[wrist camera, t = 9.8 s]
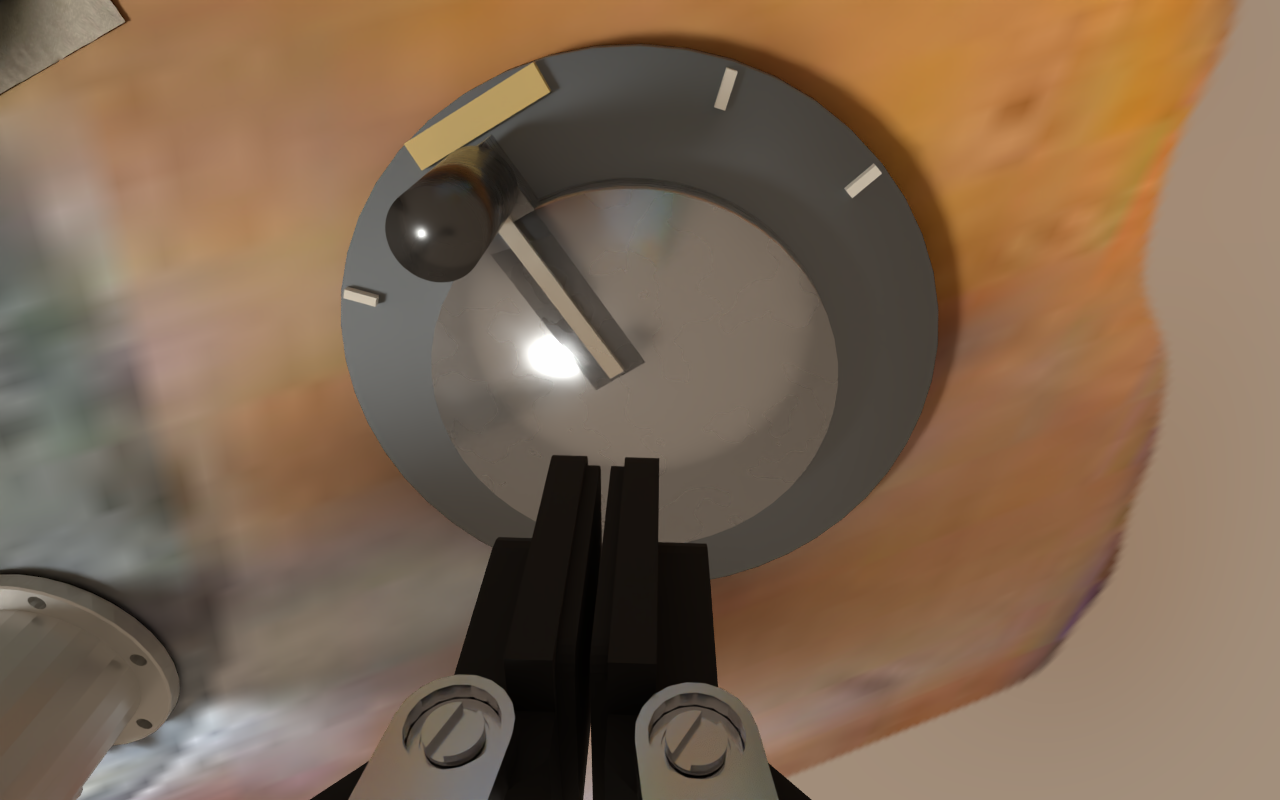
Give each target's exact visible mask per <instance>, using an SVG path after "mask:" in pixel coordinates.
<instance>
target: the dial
mask: <svg viewBox="0 0 1280 800" xmlns="http://www.w3.org/2000/svg"><path fill="white" fill-rule="evenodd" d="M385 233H386V239H387V242H388V245H389V247H390V250H391V252H392V253H393V255H394V257H395V258H396V259H397V261H398V262H399V263H400V264H401V265H402V266H403V267H404V268H405V269H406V270H408V271H409V272H410V273H412V274H413V275H415V276H417V277H419V278H422V279H424V280H428V281H431V282H443V283H444V282H451V281H454V282H453V284H452V286H451V288H450V290H449V292H448V294H447V296H446V298H445V300H444V302H443V304H442V307H441V310H440V313H439V317H438V320H437V323H436V326H435V331H434V337H433V344H432V351H431V372H432V382H433V388H434V395H435V400H436V403H437V406H438V410H439V413H440V416H441V420H442V422H443V424H444V426H445V428H446V431H447V433H448V435H449V437H450V439H451V441H452V443H453V445H454V446H455V448H456V449H457V451H458V453H459V454H460V456H461V457H462V459H463V460H464V462H465V463H466V464H467V465H468V467H469V468H470V469H471V470H472V471H473V473H474V474H475V475H476V476H477V478H478V479H479V480H480V481H481V482H482V483H484V484H485V485H486V486H487V487H488V488H489V489H490V490H491V491H492V492H493V493H494V494H495V495H496V496H498V497H499V498H500V499H502V500H503V501H504V502H506V503H507V504H508V505H509V506H511V507H512V508H514V509H515V510H517V511H518V512H520V513H522V514H523V515H525V516H527V517H528V518H530V519H532V520H534V521H536V519H537V515H538V511H539V507H540V503H541V498H542V494H543V490H544V486H545V481H546V477H547V473H548V469H549V465H550V460H551V457H552V455H570V456H587V457H588V465H597V466H600V467H601V513H602V542H603V533H604V524H605V515H606V506H607V497H608V488H609V479H610V470H611V466H624V462H625V457H638V458H659V523H658V542H673V543H684V542H690V541H694V540H697V539H701V538H704V537H708V536H712V535H714V534H717V533H719V532H722V531H724V530H727V529H729V528H732V527H734V526H736V525H738V524H740V523H742V522H744V521H746V520H747V519H749V518H751V517H753V516H755V515H756V514H758V513H759V512H761V511H762V510H763V509H765V508H766V507H768V506H769V505H771V504H772V503H773V502H774V501H776V500H777V499H778V498H779V497H780V496H781V495H782V494H784V493H785V492H786V491H787V490H788V489H789V488H790V487H791V486H792V485H793V484H794V483H795V481H796V480H797V479H798V478H799V477H800V476H801V475H802V473H803V472H804V471H805V470H806V468H807V467H808V465H809V464H810V462H811V461H812V459H813V458H814V456H815V455H816V453H817V452H818V449H819V447H820V445H821V443H822V441H823V439H824V437H825V435H826V433H827V430H828V427H829V424H830V421H831V418H832V415H833V412H834V407H835V401H836V395H837V388H838V359H837V353H836V346H835V339H834V335H833V332H832V329H831V326H830V322H829V319H828V316H827V313H826V311H825V308H824V306H823V304H822V301H821V299H820V297H819V294H818V292H817V290H816V288H815V286H814V284H813V282H812V280H811V278H810V276H809V274H808V273H807V271H806V270H805V268H804V267H803V265H802V264H801V262H800V261H799V259H798V258H797V256H796V255H795V254H794V253H793V251H792V250H791V249H790V248H789V247H788V246H787V245H786V244H785V243H784V242H783V240H782V239H781V238H780V237H779V236H778V235H777V234H776V233H775V232H773V231H772V230H771V229H770V228H769V227H767V226H766V225H765V224H764V223H763V222H761V221H760V220H759V219H758V218H756V217H755V216H753V215H752V214H750V213H749V212H747V211H745V210H744V209H742V208H740V207H739V206H737V205H735V204H734V203H732V202H730V201H728V200H726V199H723V198H721V197H719V196H716V195H714V194H712V193H710V192H707V191H705V190H701V189H698V188H694V187H691V186H687V185H684V184H680V183H676V182H669V181H663V180H656V179H647V178H617V179H608V180H600V181H592V182H588V183H584V184H580V185H576V186H572V187H568V188H564V189H562V190H560V191H557V192H555V193H552V194H550V195H547V196H545V197H542V198H540V199H538V197H537V196H536V194H535V193H534V192H533V190H532V189H531V187H530V186H529V185H528V183H527V182H526V180H525V179H524V178H523V176H522V175H521V174H520V172H519V171H518V169H517V168H516V167H515V165H514V164H513V162H512V161H511V160H510V158H509V157H508V155H507V154H506V153H505V151H504V150H503V149H502V147H501V146H500V144H499V143H498V142H497V140H496V139H495V137H494V136H493V135H490V136H489V137H488V138H486V139H485V140H484V141H482V142H481V143H479V144H478V145H477V146H465V147H462V148H459V149H457V150H455V151H453V152H452V153H451V154H449V155H448V156H447V157H446V158H445V159H443V160H442V161H441V162H440V163H439V164H437V165H436V166H435V167H434V168H433V169H431V170H430V171H429V172H428V173H427V174H425V175H424V176H423V177H422V178H421V179H420V180H418V181H417V182H416V183H415V184H414V185H412V186H411V187H410V188H409V189H408V190H406V191H405V192H404V193H403V194H402V195H400V196H399V197H398V198H397V199H396V200H395V201H394V202H393V204H392V205H391V207H390V209H389V211H388V213H387V217H386V222H385Z"/></svg>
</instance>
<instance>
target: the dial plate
mask: <svg viewBox="0 0 1280 800" xmlns="http://www.w3.org/2000/svg"><path fill="white" fill-rule="evenodd" d="M490 135H493V136H494V137H495V139H496V140H497V142H498V143H499V144H500V146H501V147H502V149H503V150H504V151H505V153H506V154H507V155H508V157H509V158H510V160H511V161H512V162H513V164H514V165H515V167H516V168H517V169H518V171H519V172H520V174H521V175H522V176H523V178H524V179H525V180H526V182H527V183H528V185H529V186H530V187H531V189H532V190H533V192H534V193H535V194H536V196H537V197H538V199H540V198H542V197H545V196H547V195H550V194H552V193H555V192H557V191H560V190H562V189H564V188H568V187H572V186H576V185H580V184H584V183H588V182H592V181H600V180H608V179H617V178H647V179H656V180H663V181H669V182H676V183H680V184H684V185H687V186H691V187H694V188H698V189H701V190H705V191H707V192H710V193H712V194H714V195H716V196H719V197H721V198H723V199H726V200H728V201H730V202H732V203H734V204H735V205H737V206H739V207H740V208H742V209H744V210H745V211H747V212H749V213H750V214H752V215H753V216H755V217H756V218H758V219H759V220H760V221H761V222H763V223H764V224H765V225H766V226H767V227H769V228H770V229H771V230H772V231H773V232H775V233H776V234H777V235H778V236H779V237H780V238H781V239H782V240H783V242H784V243H785V244H786V245H787V246H788V247H789V248H790V249H791V250H792V251H793V253H794V254H795V255H796V256H797V258H798V259H799V261H800V262H801V264H802V265H803V267H804V268H805V270H806V271H807V273H808V274H809V276H810V278H811V280H812V282H813V284H814V286H815V288H816V290H817V292H818V294H819V297H820V299H821V301H822V304H823V306H824V308H825V311H826V313H827V316H828V319H829V322H830V326H831V329H832V332H833V335H834V339H835V346H836V353H837V359H838V388H837V395H836V401H835V407H834V412H833V415H832V418H831V421H830V424H829V427H828V430H827V433H826V435H825V437H824V439H823V441H822V443H821V445H820V447H819V449H818V452H817V453H816V455H815V456H814V458H813V459H812V461H811V462H810V464H809V465H808V467H807V468H806V470H805V471H804V472H803V473H802V475H801V476H800V477H799V478H798V479H797V480H796V481H795V483H794V484H793V485H792V486H791V487H790V488H789V489H788V490H787V491H786V492H785V493H784V494H782V495H781V496H780V497H779V498H778V499H777V500H776V501H774V502H773V503H772V504H771V505H769V506H768V507H766V508H765V509H763V510H762V511H761V512H759V513H758V514H756V515H755V516H753V517H751V518H749V519H747V520H746V521H744V522H742V523H740V524H738V525H736V526H734V527H732V528H729V529H727V530H724V531H722V532H719V533H717V534H714V535H712V536H708V537H704V538H701V539H697V540H694V541H690V542H684V543H705V544H707V548H708V558H709V572H710V579H715V578H720V577H725V576H729V575H732V574H735V573H739V572H742V571H745V570H748V569H752V568H755V567H758V566H760V565H763V564H765V563H767V562H770V561H772V560H774V559H777V558H779V557H781V556H784V555H786V554H788V553H790V552H792V551H794V550H795V549H797V548H799V547H801V546H802V545H804V544H806V543H808V542H810V541H811V540H813V539H815V538H817V537H818V536H819V535H821V534H822V533H823V532H825V531H826V530H828V529H829V528H830V527H832V526H833V525H835V524H836V523H837V522H839V521H840V520H842V519H843V518H844V517H845V516H846V515H847V514H848V513H849V512H851V511H852V510H853V509H854V508H855V507H856V506H857V505H858V504H859V503H860V502H861V501H863V500H864V499H865V498H866V497H867V496H868V495H869V493H870V492H871V491H872V490H873V489H874V488H875V486H876V485H877V484H878V483H879V482H880V481H881V479H882V478H883V477H884V476H885V475H886V474H887V472H888V471H889V470H890V468H891V467H892V465H893V464H894V462H895V460H896V459H897V457H898V456H899V454H900V453H901V451H902V450H903V448H904V447H905V445H906V444H907V442H908V440H909V438H910V435H911V433H912V431H913V429H914V427H915V425H916V423H917V421H918V419H919V417H920V415H921V412H922V409H923V406H924V403H925V400H926V397H927V394H928V390H929V387H930V384H931V381H932V376H933V370H934V364H935V358H936V352H937V346H938V303H937V296H936V288H935V281H934V273H933V269H932V266H931V262H930V259H929V255H928V252H927V249H926V245H925V242H924V238H923V235H922V233H921V231H920V228H919V226H918V224H917V222H916V220H915V218H914V216H913V214H912V211H911V209H910V207H909V205H908V203H907V201H906V199H905V197H904V195H903V194H902V192H901V191H900V190H899V188H898V187H897V185H896V184H895V182H894V181H893V179H892V178H891V176H890V175H889V173H888V172H887V170H886V169H885V167H884V166H883V164H882V163H881V162H880V161H879V160H878V159H877V157H876V156H875V155H874V154H873V153H872V152H871V151H870V150H869V149H868V148H867V147H866V146H865V144H864V143H863V142H862V141H861V140H860V139H859V138H858V137H857V136H856V135H855V134H854V133H853V131H852V130H851V129H850V128H849V127H847V126H846V125H845V124H844V123H843V122H841V121H840V120H839V119H838V118H837V117H835V116H834V115H833V114H832V113H830V112H829V111H828V110H827V109H825V108H824V107H823V106H822V105H820V104H819V103H818V102H817V101H815V100H814V99H813V98H811V97H810V96H808V95H806V94H804V93H803V92H801V91H799V90H798V89H796V88H794V87H792V86H791V85H789V84H787V83H786V82H784V81H782V80H781V79H779V78H777V77H775V76H773V75H771V74H769V73H766V72H764V71H761V70H759V69H756V68H754V67H751V66H749V65H746V64H744V63H741V62H739V61H736V60H734V59H731V58H727V57H723V56H719V55H715V54H710V53H706V52H702V51H698V50H694V49H690V48H684V47H673V46H662V45H652V44H621V45H601V46H592V47H587V48H582V49H577V50H572V51H567V52H561V53H556V54H551V55H548V56H545V57H543V58H540V59H537V60H534V61H531V62H529V63H526V64H523V65H520V66H517V67H515V68H512V69H509V70H507V71H505V72H503V73H502V74H500V75H498V76H496V77H494V78H492V79H490V80H488V81H487V82H485V83H483V84H481V85H479V86H477V87H475V88H474V89H472V90H470V91H468V92H467V93H465V94H463V95H462V96H461V97H459V98H458V99H457V100H455V101H454V102H453V103H451V104H450V105H449V106H447V107H446V108H445V109H443V110H442V111H441V112H439V113H438V114H437V115H435V116H434V117H433V118H431V119H430V120H429V121H428V122H427V123H426V124H425V125H424V126H423V127H422V128H421V129H420V130H419V131H418V132H417V133H416V134H415V135H414V136H413V137H412V138H411V139H410V140H409V141H407V142H406V143H404V146H403V147H402V148H401V149H400V150H399V152H398V153H397V154H396V156H395V157H394V159H393V160H392V161H391V163H390V164H389V166H388V167H387V168H386V170H385V171H384V173H383V174H382V175H381V177H380V178H379V180H378V181H377V182H376V184H375V186H374V188H373V190H372V192H371V194H370V196H369V198H368V200H367V202H366V204H365V206H364V208H363V210H362V212H361V214H360V216H359V218H358V222H357V225H356V228H355V231H354V234H353V237H352V240H351V243H350V246H349V250H348V253H347V258H346V264H345V271H344V277H343V283H342V291H341V328H342V335H343V342H344V350H345V357H346V362H347V366H348V369H349V373H350V376H351V380H352V384H353V387H354V391H355V394H356V396H357V398H358V401H359V403H360V405H361V408H362V410H363V412H364V415H365V417H366V419H367V422H368V424H369V426H370V427H371V429H372V431H373V432H374V434H375V436H376V437H377V439H378V441H379V443H380V444H381V446H382V448H383V449H384V451H385V453H386V454H387V455H388V457H389V458H390V459H391V460H392V462H393V463H394V464H395V466H396V467H397V468H398V470H399V471H400V472H401V474H402V475H403V476H404V478H405V479H406V480H407V481H408V482H409V483H410V484H411V485H412V486H413V487H414V488H415V489H416V490H417V491H418V492H419V493H420V494H421V495H422V496H423V497H424V498H425V500H426V501H427V502H429V503H430V504H431V505H432V506H433V507H435V508H436V509H437V510H438V511H439V512H441V513H442V514H443V515H444V516H445V517H447V518H448V519H449V520H450V521H451V522H453V523H454V524H456V525H457V526H459V527H460V528H462V529H463V530H465V531H466V532H468V533H469V534H471V535H472V536H474V537H475V538H477V539H478V540H480V541H481V542H483V543H485V544H487V545H489V546H491V547H493V546H494V543H495V541H496V539H497V538H498V537H514V538H532V536H533V532H534V528H535V524H536V521H534V520H532V519H530V518H528V517H527V516H525V515H523V514H522V513H520V512H518V511H517V510H515V509H514V508H512V507H511V506H509V505H508V504H507V503H506V502H504V501H503V500H502V499H500V498H499V497H498V496H496V495H495V494H494V493H493V492H492V491H491V490H490V489H489V488H488V487H487V486H486V485H485V484H484V483H482V482H481V481H480V480H479V479H478V478H477V476H476V475H475V474H474V473H473V471H472V470H471V469H470V468H469V467H468V465H467V464H466V463H465V462H464V460H463V459H462V457H461V456H460V454H459V453H458V451H457V449H456V448H455V446H454V445H453V443H452V441H451V439H450V437H449V435H448V433H447V431H446V428H445V426H444V424H443V422H442V420H441V416H440V413H439V410H438V406H437V403H436V400H435V395H434V388H433V382H432V372H431V351H432V344H433V337H434V331H435V326H436V323H437V320H438V317H439V313H440V310H441V307H442V304H443V302H444V300H445V298H446V296H447V294H448V292H449V290H450V288H451V286H452V284H453V282H454V281H451V282H444V283H443V282H431V281H428V280H424V279H422V278H419V277H417V276H415V275H413V274H412V273H410V272H409V271H408V270H406V269H405V268H404V267H403V266H402V265H401V264H400V263H399V262H398V261H397V259H396V258H395V257H394V255H393V253H392V252H391V250H390V247H389V245H388V242H387V239H386V233H385V222H386V217H387V213H388V211H389V209H390V207H391V205H392V204H393V202H394V201H395V200H396V199H397V198H398V197H399V196H400V195H402V194H403V193H404V192H405V191H406V190H408V189H409V188H410V187H411V186H412V185H414V184H415V183H416V182H417V181H418V180H420V179H421V178H422V177H423V176H424V175H425V174H427V173H428V172H429V171H430V170H431V169H433V168H434V167H435V166H436V165H437V164H439V163H440V162H441V161H442V160H443V159H445V158H446V157H447V156H448V155H449V154H451V153H452V152H453V151H455V150H457V149H459V148H462V147H465V146H477V145H478V144H479V143H481V142H482V141H484V140H485V139H486V138H488V137H489V136H490Z"/></svg>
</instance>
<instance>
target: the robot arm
mask: <svg viewBox="0 0 1280 800" xmlns="http://www.w3.org/2000/svg"><path fill="white" fill-rule="evenodd" d="M658 523H659V458H638V457H625V462H624V466H611V470H610V479H609V488H608V497H607V506H606V515H605V524H604V533H603V542H602V513H601V467H600V466H597V465H588V457H587V456H570V455H552V457H551V460H550V465H549V469H548V473H547V477H546V481H545V486H544V490H543V494H542V498H541V503H540V507H539V511H538V515H537V519H536V524H535V528H534V532H533V536H532V538H514V537H498V538H497V539H496V541H495V543H494V546H493V548H492V552H491V555H490V558H489V562H488V565H487V568H486V572H485V575H484V578H483V582H482V585H481V588H480V592H479V595H478V598H477V601H476V605H475V608H474V611H473V615H472V618H471V621H470V625H469V628H468V631H467V635H466V638H465V641H464V644H463V648H462V651H461V654H460V658H459V661H458V664H457V668H456V671H455V674H454V675H453V676H448V677H444V678H439V679H437V680H435V681H433V682H431V683H428V684H426V685H424V686H422V687H420V688H419V689H418V690H417V691H415V692H414V693H413V694H412V695H411V696H409V697H408V698H407V699H406V700H405V701H404V702H403V704H402V705H401V706H400V708H399V709H398V711H397V712H396V713H395V715H394V716H393V718H392V720H391V722H390V724H389V726H388V727H387V729H386V731H385V733H384V735H383V737H382V738H381V740H380V742H379V744H378V746H377V748H376V750H375V751H374V753H373V755H372V757H371V759H370V761H368V762H367V763H365V764H364V765H362V766H361V767H359V768H358V769H356V770H354V771H353V772H351V773H350V774H348V775H347V776H345V777H344V778H342V779H341V780H339V781H338V782H336V783H335V784H333V785H332V786H330V787H329V788H327V789H326V790H324V791H322V792H321V793H319V794H318V795H316V796H315V797H313V798H312V799H310V800H583V795H584V785H585V775H586V765H587V756H588V746H589V736H590V726H591V745H592V782H593V800H811V799H810V798H809V797H808V796H806V795H805V794H804V793H803V792H802V791H801V790H799V789H798V788H797V787H796V786H795V785H793V784H792V783H791V782H790V781H789V780H788V779H786V778H785V777H784V776H783V775H782V774H781V773H779V772H778V771H777V770H776V769H775V768H774V767H772V766H771V765H770V764H769V763H768V761H767V758H766V754H765V751H764V748H763V744H762V741H761V737H760V734H759V731H758V727H757V725H756V723H755V721H754V719H753V717H752V715H751V713H750V711H749V710H748V709H747V708H746V707H745V706H744V705H743V703H742V702H741V701H740V700H739V699H738V698H736V697H735V696H733V695H732V694H730V693H728V692H727V691H725V690H724V689H722V688H719V687H718V681H717V668H716V654H715V640H714V627H713V613H712V599H711V586H710V572H709V558H708V548H707V544H705V543H673V542H658ZM179 693H180V686H179V677H178V674H177V671H176V668H175V665H174V662H173V661H172V659H171V657H170V656H169V654H168V652H167V651H166V649H165V648H164V646H163V645H162V644H161V643H160V642H159V641H158V639H157V638H156V637H155V636H154V635H153V634H152V633H151V632H150V631H149V630H148V629H147V628H146V627H145V626H143V625H142V624H141V623H140V622H139V621H138V620H136V619H135V618H134V617H133V616H131V615H130V614H128V613H127V612H125V611H124V610H122V609H121V608H119V607H118V606H116V605H115V604H113V603H111V602H109V601H107V600H105V599H103V598H101V597H99V596H97V595H95V594H93V593H91V592H88V591H86V590H83V589H80V588H78V587H75V586H72V585H70V584H67V583H63V582H59V581H55V580H51V579H47V578H43V577H35V576H28V575H20V574H11V575H0V800H76V799H77V798H78V797H79V796H80V795H81V793H82V790H83V788H82V786H83V785H84V784H85V782H86V781H87V780H88V778H89V777H90V775H91V774H92V773H93V771H94V770H95V768H96V767H97V766H98V764H99V763H100V762H101V760H102V759H103V757H104V756H105V755H106V753H107V752H108V751H109V749H110V748H111V746H113V745H121V744H127V743H131V742H134V741H137V740H140V739H143V738H145V737H147V736H149V735H150V734H152V733H154V732H156V731H157V730H158V729H159V728H160V727H161V725H162V724H163V723H164V722H165V721H166V720H167V718H168V716H169V715H170V713H171V712H172V710H173V709H174V707H175V706H176V704H177V700H178V697H179Z"/></svg>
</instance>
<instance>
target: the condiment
mask: <svg viewBox="0 0 1280 800" xmlns="http://www.w3.org/2000/svg"><path fill="white" fill-rule="evenodd" d="M124 22H125V20H124V19H123V18H122V16H121V15H120V13H119V12H118V10H117V9H116V7H115V6H114V5H113V3H112V2H111V1H110V0H0V94H1V93H2V92H4V91H6V90H8V89H9V88H11V87H13V86H14V85H16V84H18V83H20V82H23V81H24V80H26V79H28V78H29V77H31V76H32V75H34V74H36V73H38V72H40V71H41V70H43V69H45V68H47V67H48V66H50V65H52V64H54V63H56V62H58V61H59V60H60V59H63V58H64V57H66V56H67V55H69V54H70V53H72V52H74V51H75V50H77V49H79V48H81V47H83V46H84V45H86V44H88V43H90V42H92V41H94V40H95V39H97V38H98V37H100V36H102V35H103V34H105V33H107V32H108V31H110V30H112V29H114V28H115V27H117V26H119V25H120V24H122V23H124Z"/></svg>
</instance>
